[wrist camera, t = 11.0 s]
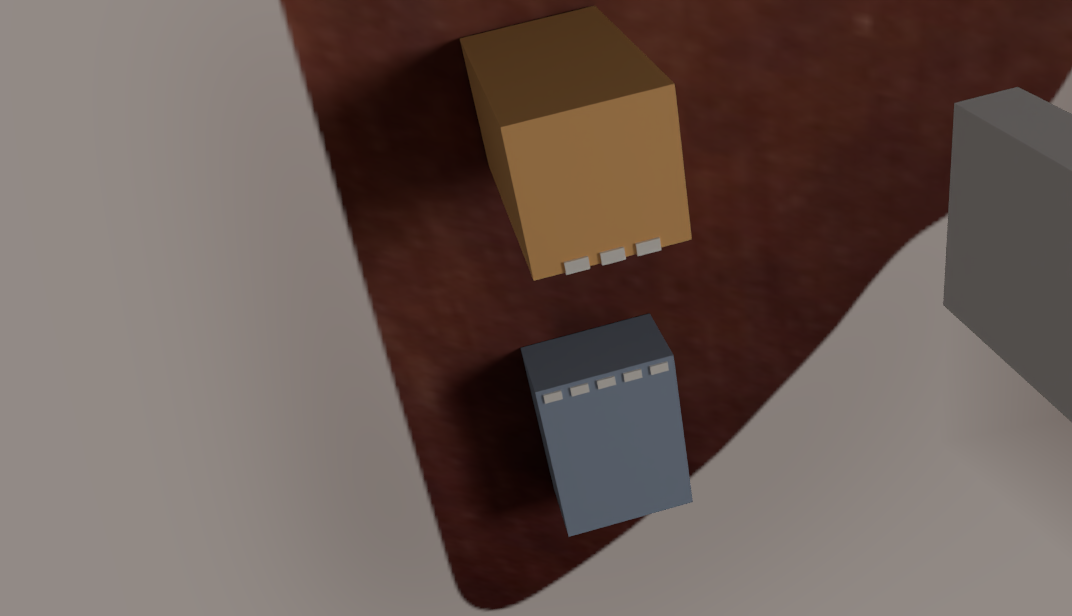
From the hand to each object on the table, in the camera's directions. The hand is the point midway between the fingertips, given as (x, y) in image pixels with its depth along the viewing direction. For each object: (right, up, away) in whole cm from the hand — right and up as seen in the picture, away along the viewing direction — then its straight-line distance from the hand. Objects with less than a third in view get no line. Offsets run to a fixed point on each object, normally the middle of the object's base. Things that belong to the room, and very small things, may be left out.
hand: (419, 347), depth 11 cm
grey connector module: (+5, -5, +42) cm, 42 cm away
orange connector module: (+2, +10, +32) cm, 33 cm away
